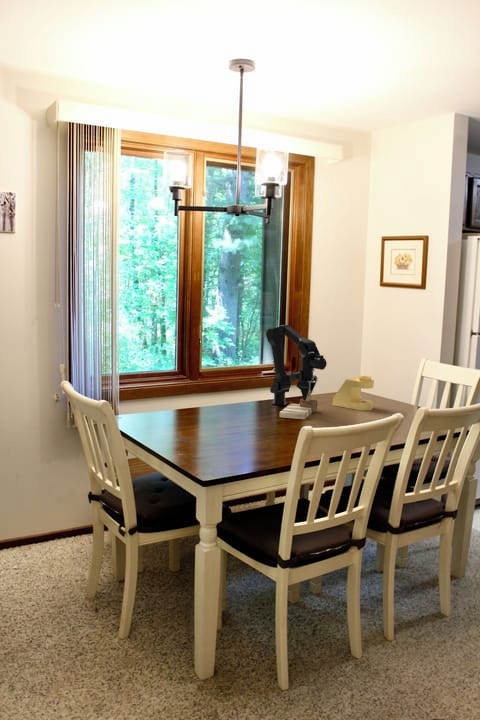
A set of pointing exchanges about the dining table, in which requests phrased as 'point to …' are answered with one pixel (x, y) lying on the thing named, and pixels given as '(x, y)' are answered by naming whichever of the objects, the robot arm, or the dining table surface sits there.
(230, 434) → the dining table surface
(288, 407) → the board
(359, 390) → the clamp
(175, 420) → the dining table surface
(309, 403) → the stacked cube assembly
